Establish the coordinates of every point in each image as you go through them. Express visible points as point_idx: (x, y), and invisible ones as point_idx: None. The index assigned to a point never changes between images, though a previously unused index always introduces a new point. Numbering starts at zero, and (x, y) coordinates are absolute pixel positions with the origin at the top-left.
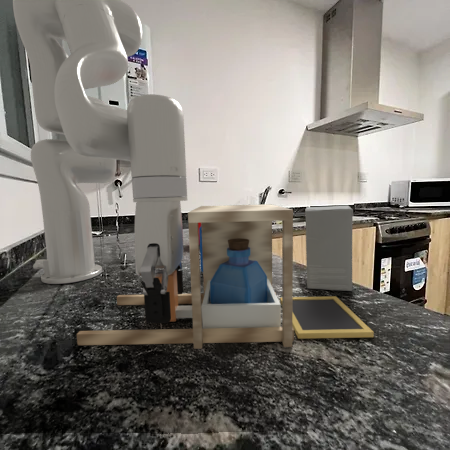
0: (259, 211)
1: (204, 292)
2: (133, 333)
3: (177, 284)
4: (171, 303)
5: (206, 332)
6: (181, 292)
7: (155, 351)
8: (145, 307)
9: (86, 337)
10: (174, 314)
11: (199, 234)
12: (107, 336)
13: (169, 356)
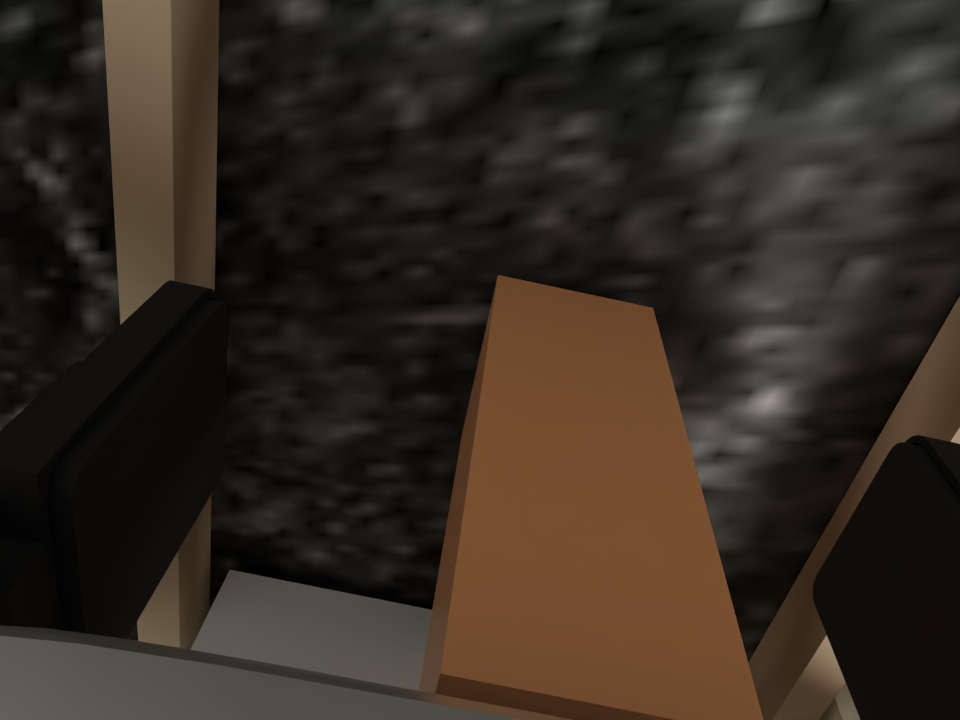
0: None
1: (839, 715)
2: (113, 138)
3: (869, 649)
4: (448, 524)
5: (141, 621)
6: (818, 596)
7: (74, 284)
8: (94, 358)
9: None
10: (456, 467)
11: None
12: None
13: (25, 369)
